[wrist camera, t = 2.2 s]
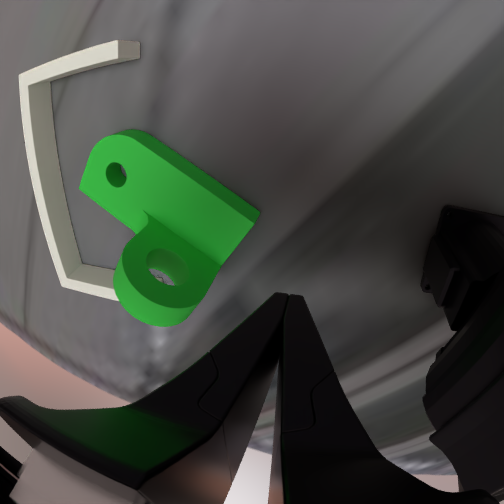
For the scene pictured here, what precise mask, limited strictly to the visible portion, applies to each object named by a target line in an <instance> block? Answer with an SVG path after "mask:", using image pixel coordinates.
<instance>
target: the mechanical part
mask: <svg viewBox="0 0 504 504" xmlns="http://www.w3.org/2000/svg"><path fill="white" fill-rule="evenodd" d="M120 164H121V165H122V166H123V167H124V169H125V171H126V175H127V178H126V177H125V176H124V175H123V174H122V172H121V169H120ZM79 189H80V190H81V191H82V192H83V193H85V194H86V195H87V196H89V197H90V198H91V199H92V200H94V201H95V202H96V203H98V204H99V205H100V206H101V207H103V208H104V209H105V210H107V211H108V212H109V213H111V214H112V215H113V216H114V217H116V218H117V219H118V220H120V221H121V222H122V223H124V224H125V225H126V226H128V227H129V228H130V229H132V230H133V231H134V232H135V234H136V235H135V236H134V237H133V238H132V239H131V240H130V241H129V242H128V243H127V245H126V246H125V248H124V250H123V252H122V255H121V257H120V259H119V262H118V264H117V267H116V269H115V271H114V275H113V287H114V291H115V294H116V296H117V298H118V300H119V302H120V303H121V304H122V306H123V307H124V308H125V309H126V310H127V311H128V312H129V313H130V314H131V315H132V316H133V317H135V318H137V319H138V320H140V321H142V322H144V323H147V324H150V325H154V326H160V327H167V326H174V325H177V324H179V323H181V322H183V321H184V320H185V319H187V317H188V316H189V315H190V314H191V313H192V311H193V310H194V309H195V308H196V306H197V305H198V304H199V303H200V302H201V300H202V299H203V298H204V296H205V295H206V293H207V291H208V289H209V287H210V286H211V284H212V282H213V280H214V278H215V277H216V275H217V273H218V271H219V269H220V268H221V266H222V265H223V263H224V262H225V261H226V259H227V258H228V257H229V256H230V254H231V253H232V252H233V251H234V249H235V248H236V247H237V246H238V244H239V243H240V242H241V241H242V239H243V238H244V237H245V236H246V234H247V233H248V232H249V230H250V229H251V228H252V227H253V225H254V224H255V222H256V220H257V218H258V216H259V214H260V212H259V211H258V210H257V209H255V208H254V207H253V206H251V205H250V204H248V203H247V202H246V201H244V200H243V199H241V198H240V197H239V196H237V195H236V194H235V193H233V192H232V191H230V190H229V189H228V188H226V187H225V186H223V185H222V184H221V183H219V182H218V181H216V180H215V179H213V178H212V177H211V176H209V175H208V174H206V173H205V172H204V171H202V170H201V169H199V168H198V167H196V166H195V165H194V164H192V163H191V162H189V161H188V160H186V159H185V158H183V157H182V156H181V155H179V154H178V153H176V152H175V151H173V150H172V149H170V148H169V147H167V146H166V145H164V144H163V143H162V142H160V141H159V140H157V139H156V138H154V137H153V136H151V135H150V134H148V133H146V132H143V131H140V130H134V129H131V130H125V131H122V132H119V133H116V134H113V135H110V136H107V137H105V138H103V139H102V140H100V141H99V142H98V143H97V144H96V145H95V147H94V148H93V150H92V152H91V154H90V156H89V159H88V162H87V165H86V168H85V171H84V174H83V177H82V180H81V183H80V187H79ZM148 269H156V270H159V271H162V272H163V273H165V274H166V275H168V276H169V277H170V278H171V280H172V281H173V283H174V285H175V286H172V285H167V284H164V283H162V282H160V281H159V280H157V279H156V278H155V277H154V276H153V275H152V274H151V273H150V271H149V270H148Z"/></svg>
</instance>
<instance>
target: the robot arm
mask: <svg viewBox="0 0 504 504" xmlns="http://www.w3.org/2000/svg"><path fill="white" fill-rule="evenodd" d="M448 212H452V214H451V215H450V216H447V213H448ZM423 270H424V275H423V278H422V281H421V288H422V291H423V292H426V293H433V296H434V298H435V301H436V304H437V305H438V307H439V308H443V309H444V312H445V314H446V317H447V320H448V323H449V326H450V329H451V330H452V331H457V332H456V333H455V334H454V336H453V337H452V338H451V339H450V340H449V342H448V343H447V344H446V345H445V346H444V347H442V348H441V349H440V350H439V351H438V352H437V354H436V359H435V362H434V363H433V364H432V365H431V366H430V369H429V371H428V373H427V376H426V394H425V395H424V396H423V404H424V407H425V411H426V414H427V416H428V418H429V420H430V422H431V424H432V426H433V427H434V429H435V430H436V432H434V433H433V434H432V435H430V437H429V440H430V441H431V442H432V443H433V444H434V445H435V446H437V447H438V448H439V449H440V450H441V451H443V453H444V454H445V455H446V456H447V458H448V459H449V460H450V462H451V463H452V465H453V467H454V469H455V471H456V473H457V475H458V478H459V480H460V482H461V485H462V487H463V489H464V491H463V492H455V493H452V492H445V491H441V490H437V489H435V488H433V487H431V486H429V485H428V484H426V483H424V482H422V481H421V480H419V479H417V478H416V477H414V476H412V475H411V474H409V473H408V472H406V471H404V470H403V469H401V468H399V467H398V466H396V465H395V464H393V463H392V462H390V461H388V460H387V459H386V458H385V457H384V456H382V454H381V453H380V452H379V451H378V450H377V449H376V447H375V446H374V444H373V442H372V441H371V439H370V437H369V436H368V434H367V432H366V431H365V429H364V427H363V426H362V424H361V422H360V420H359V419H358V417H357V415H356V414H355V412H354V410H353V409H352V407H351V405H350V403H349V401H348V399H347V398H346V396H345V394H344V391H343V389H342V387H341V385H340V383H339V380H338V378H337V375H336V373H335V372H334V368H333V366H332V364H331V361H330V359H329V356H328V354H327V351H326V349H325V347H324V344H323V342H322V340H321V337H320V335H319V332H318V330H317V328H316V325H315V323H314V321H313V318H312V316H311V314H310V311H309V309H308V307H307V304H306V302H305V300H304V297H303V296H301V295H294V294H290V295H288V294H287V293H279V292H276V293H274V294H273V295H272V296H271V297H270V298H269V299H267V300H266V301H265V302H264V303H263V304H262V305H261V306H260V307H259V308H258V309H256V310H255V311H254V312H253V313H252V314H251V315H250V316H249V317H247V318H246V319H245V320H244V321H243V322H242V323H241V324H240V325H238V326H237V327H236V328H235V329H234V330H233V331H232V332H231V333H229V334H228V335H227V336H226V337H225V338H224V339H223V340H221V341H220V342H219V343H218V344H217V345H216V346H214V347H213V348H212V349H211V350H210V352H207V353H206V354H205V355H204V356H203V357H201V358H200V359H199V360H198V361H197V362H195V363H194V364H193V365H192V366H190V367H189V368H188V369H186V370H185V371H183V372H182V373H180V374H179V375H178V376H176V377H175V378H173V379H172V380H170V381H168V382H167V383H165V384H164V385H162V386H161V387H159V388H157V389H156V390H154V391H153V392H151V393H149V394H148V395H146V396H145V397H143V398H141V399H139V400H138V401H136V402H134V403H131V404H129V405H126V406H122V407H117V408H102V409H77V410H55V409H48V408H44V407H41V406H38V405H36V404H34V403H33V402H31V401H29V400H28V399H26V398H24V397H22V396H9V397H3V398H1V399H0V416H1V417H2V418H3V419H4V420H5V421H6V423H7V424H8V425H9V426H10V427H11V428H12V429H13V430H14V431H15V432H16V433H17V434H19V436H21V438H23V439H24V440H25V441H26V442H27V443H28V444H29V445H30V446H31V447H32V450H31V452H30V453H29V455H28V457H27V458H26V460H25V461H24V463H23V464H21V463H20V462H19V461H17V460H16V459H15V458H14V457H13V456H11V455H10V454H9V453H8V452H7V451H5V450H4V449H3V448H2V447H1V446H0V504H223V503H224V501H225V499H226V497H227V494H228V492H229V490H230V487H231V485H232V482H233V480H234V478H235V475H236V473H237V471H238V468H239V466H240V463H241V461H242V458H243V456H244V453H245V451H246V448H247V446H248V443H249V441H250V438H251V436H252V433H253V431H254V428H255V425H256V423H257V420H258V417H259V415H260V412H261V409H262V407H263V404H264V401H265V399H266V396H267V393H268V390H269V388H270V385H271V382H272V379H273V376H274V374H275V371H276V368H277V364H278V361H279V365H278V380H277V396H276V411H275V425H274V439H273V452H272V464H271V475H270V487H269V498H268V504H499V502H498V501H497V500H496V498H495V497H493V496H492V494H494V493H496V492H498V491H500V490H502V489H503V488H504V217H503V216H499V215H494V214H489V213H485V212H480V211H475V210H470V209H465V208H460V207H455V206H446V207H444V208H443V210H442V213H441V217H440V221H439V225H438V228H437V232H436V234H435V235H434V236H433V237H432V240H431V243H430V247H429V250H428V254H427V257H426V260H425V264H424V267H423ZM427 284H429V286H427V287H425V286H426V285H427Z"/></svg>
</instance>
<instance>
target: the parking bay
mask: <svg viewBox="0 0 504 504" xmlns="http://www.w3.org/2000/svg"><path fill="white" fill-rule="evenodd" d="M135 59H140V42H135V41H125V40H116V41H112V42H108V43H105V44H101V45H98V46H94V47H91V48H88V49H84V50H81V51H78V52H75V53H72V54H69V55H67V56H64V57H61V58H58V59H56V60H53V61H50V62H48V63H45V64H43V65H40V66H38V67H36V68H33V69H31V70H29V71H26V72H24V73H22V74H20V75H19V87H20V102H21V113H22V123H23V131H24V138H25V145H26V152H27V158H28V164H29V169H30V174H31V179H32V184H33V189H34V193H35V198H36V202H37V206H38V210H39V214H40V218H41V222H42V226H43V229H44V233H45V236H46V240H47V243H48V246H49V250H50V253H51V256H52V259H53V262H54V265H55V268H56V271H57V274H58V277H59V280H60V282H61V285H62V287H66V288H69V289H73V290H77V291H80V292H84V293H88V294H92V295H96V296H100V297H104V298H108V299H112V300H116V301H119V300H118V298H117V296H116V294H115V291H114V287H113V275H114V271H115V270H112V269H107V268H102V267H97V266H91V265H86V264H82V261H81V258H80V254H79V251H78V247H77V243H76V240H75V236H74V232H73V228H72V224H71V220H70V216H69V211H68V207H67V202H66V197H65V193H64V188H63V182H62V177H61V171H60V165H59V159H58V153H57V146H56V138H55V130H54V122H53V112H52V100H51V84H50V81H53V80H56V79H60V78H63V77H66V76H69V75H73V74H76V73H80V72H83V71H87V70H91V69H95V68H99V67H103V66H107V65H111V64H116V63H120V62H125V61H130V60H135ZM155 278H156V279H157V280H159V281H160V282H162V283H163V279H162V278H157V277H155Z"/></svg>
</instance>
